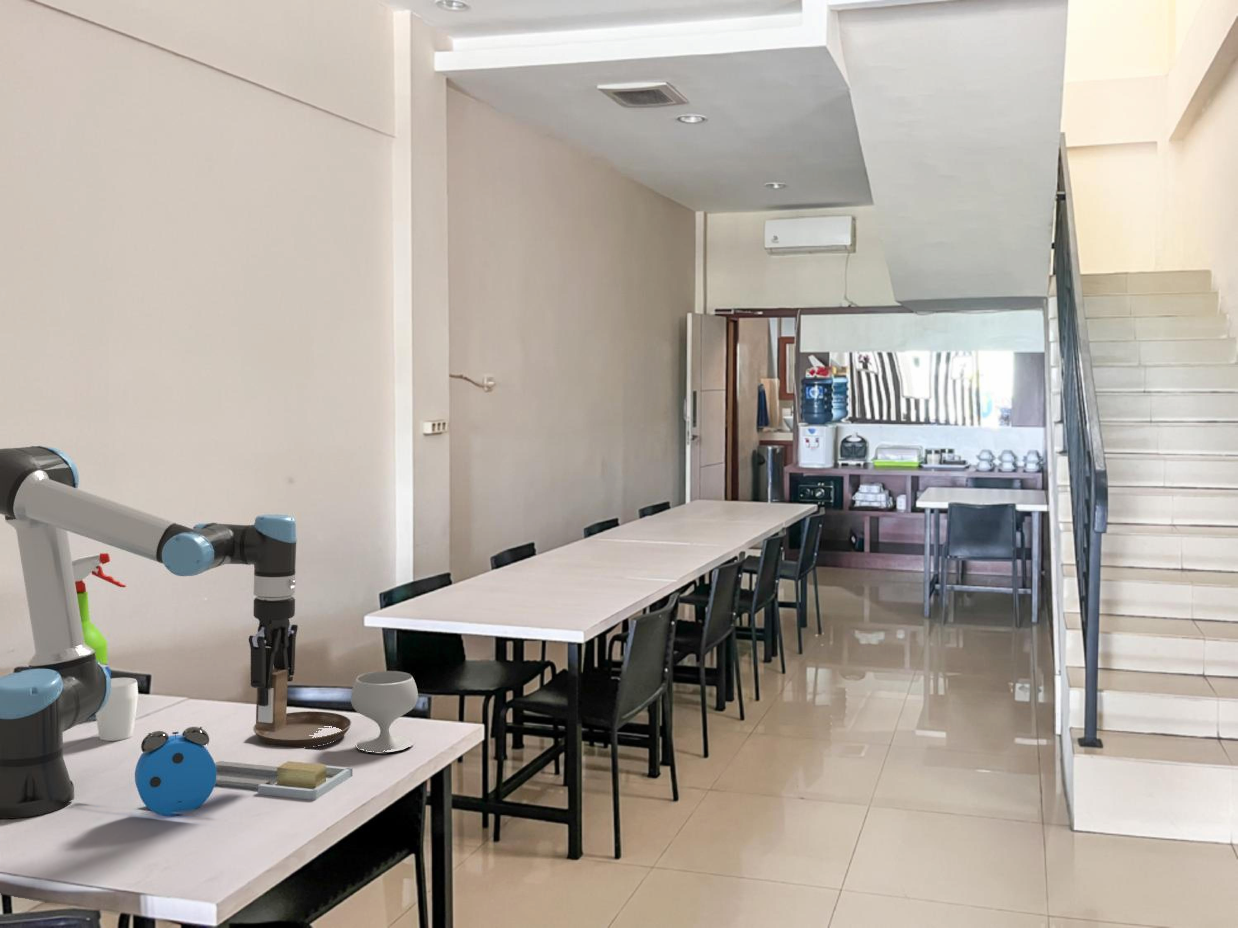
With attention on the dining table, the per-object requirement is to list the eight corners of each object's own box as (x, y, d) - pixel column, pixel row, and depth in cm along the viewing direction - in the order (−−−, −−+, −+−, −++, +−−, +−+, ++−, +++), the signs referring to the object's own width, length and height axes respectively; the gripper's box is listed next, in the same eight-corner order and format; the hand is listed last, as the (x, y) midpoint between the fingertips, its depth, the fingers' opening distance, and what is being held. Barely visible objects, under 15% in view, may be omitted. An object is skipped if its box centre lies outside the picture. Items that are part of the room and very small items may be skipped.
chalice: (431, 743, 246) (431, 674, 245) (387, 760, 234) (386, 688, 233) (382, 733, 253) (382, 666, 252) (336, 749, 241) (336, 679, 240)
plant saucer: (358, 747, 243) (358, 731, 243) (257, 757, 236) (257, 741, 236) (344, 721, 263) (344, 707, 262) (250, 730, 255) (250, 715, 255)
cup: (146, 731, 252) (145, 678, 252) (125, 743, 243) (124, 688, 243) (107, 729, 253) (107, 676, 253) (84, 741, 244) (84, 686, 244)
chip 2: (315, 792, 213) (315, 771, 213) (296, 790, 214) (296, 769, 214) (326, 785, 217) (326, 764, 217) (307, 783, 218) (307, 762, 218)
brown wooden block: (255, 729, 215) (257, 672, 215) (267, 724, 219) (269, 667, 219) (274, 732, 214) (276, 674, 214) (285, 726, 218) (287, 669, 218)
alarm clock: (211, 800, 209) (211, 720, 208) (217, 811, 204) (216, 728, 203) (134, 812, 203) (133, 729, 202) (138, 823, 197) (137, 738, 197)
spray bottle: (124, 696, 282) (122, 556, 280) (43, 702, 276) (41, 558, 274) (129, 683, 295) (127, 549, 293) (52, 688, 289) (50, 551, 287)
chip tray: (315, 804, 207) (315, 791, 207) (258, 798, 210) (258, 785, 210) (352, 780, 221) (352, 767, 221) (297, 775, 224) (297, 762, 224)
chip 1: (296, 790, 214) (295, 769, 214) (277, 788, 215) (276, 767, 215) (307, 783, 218) (306, 762, 218) (288, 781, 219) (288, 760, 219)
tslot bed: (263, 794, 212) (263, 784, 212) (188, 786, 216) (188, 776, 216) (291, 778, 222) (291, 768, 222) (219, 770, 226) (219, 760, 226)
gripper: (267, 605, 206) (265, 732, 207) (315, 591, 223) (313, 709, 224) (230, 602, 208) (228, 728, 209) (281, 588, 225) (279, 705, 226)
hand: (272, 718), depth 217 cm, fingers closed on brown wooden block, 4 cm apart
